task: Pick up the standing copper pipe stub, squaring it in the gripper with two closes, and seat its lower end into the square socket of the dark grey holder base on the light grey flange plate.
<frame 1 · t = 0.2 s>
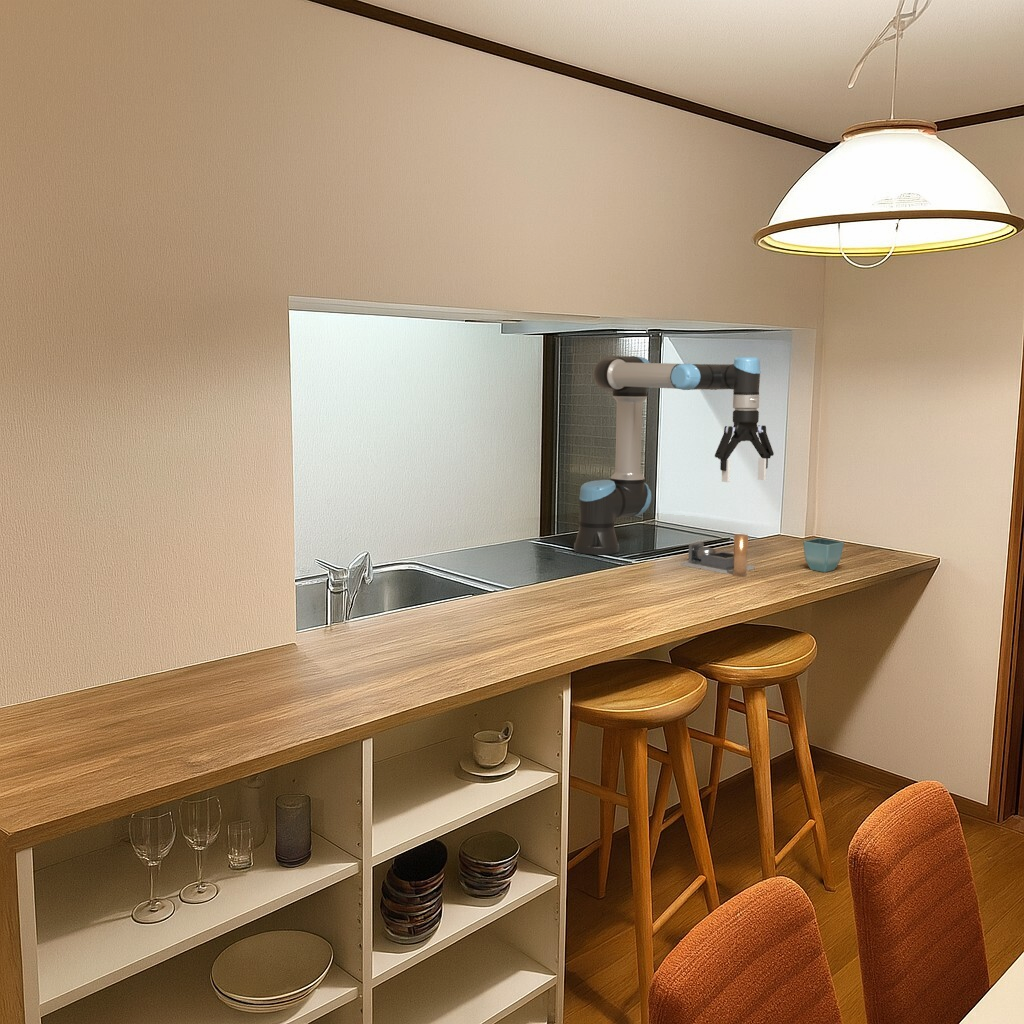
hand: (743, 480, 293), 27 cm above the counter, fingers open, 13 cm apart
dark grey holder base: (723, 567, 299), on the counter
pipe stub: (739, 575, 289), on the counter
flower pot: (822, 571, 297), on the counter
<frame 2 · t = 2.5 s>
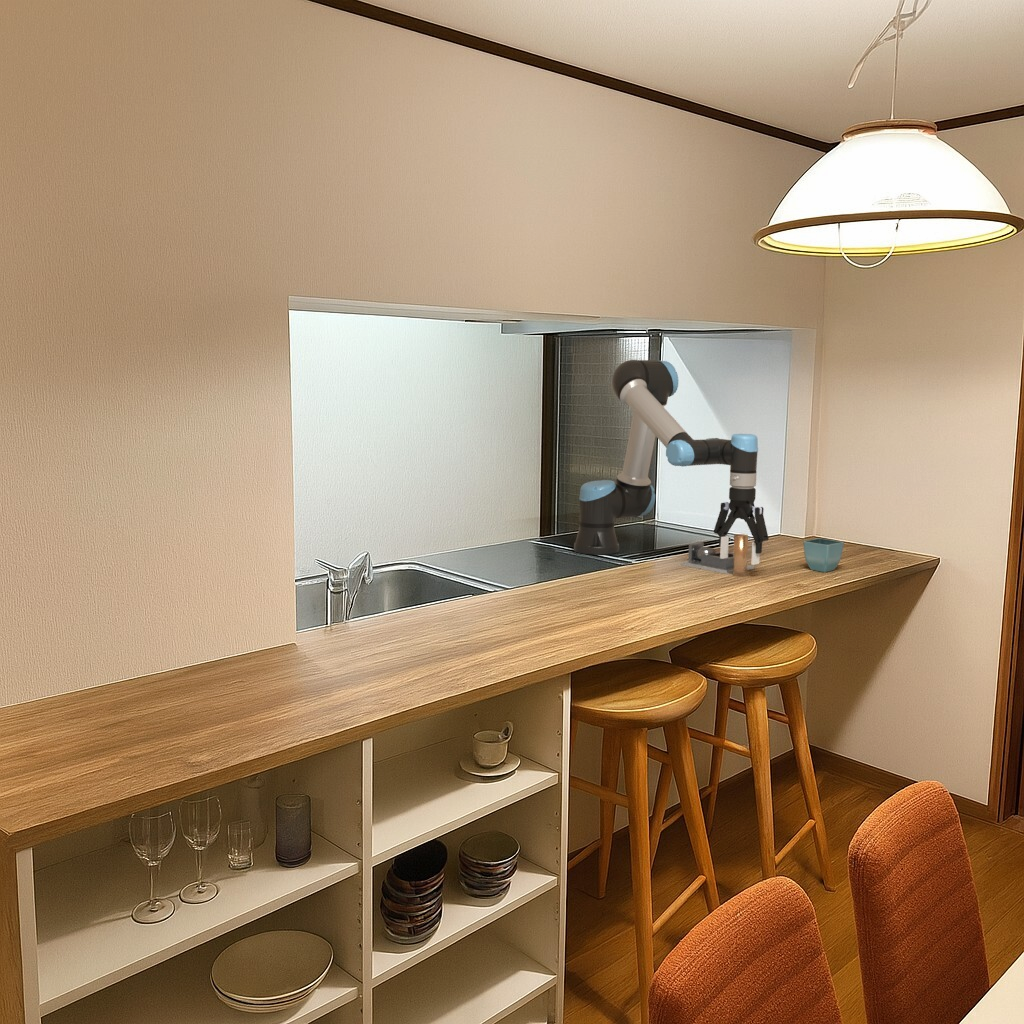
hand: (739, 561, 288), 4 cm above the counter, fingers open, 11 cm apart
nothing on the counter moved.
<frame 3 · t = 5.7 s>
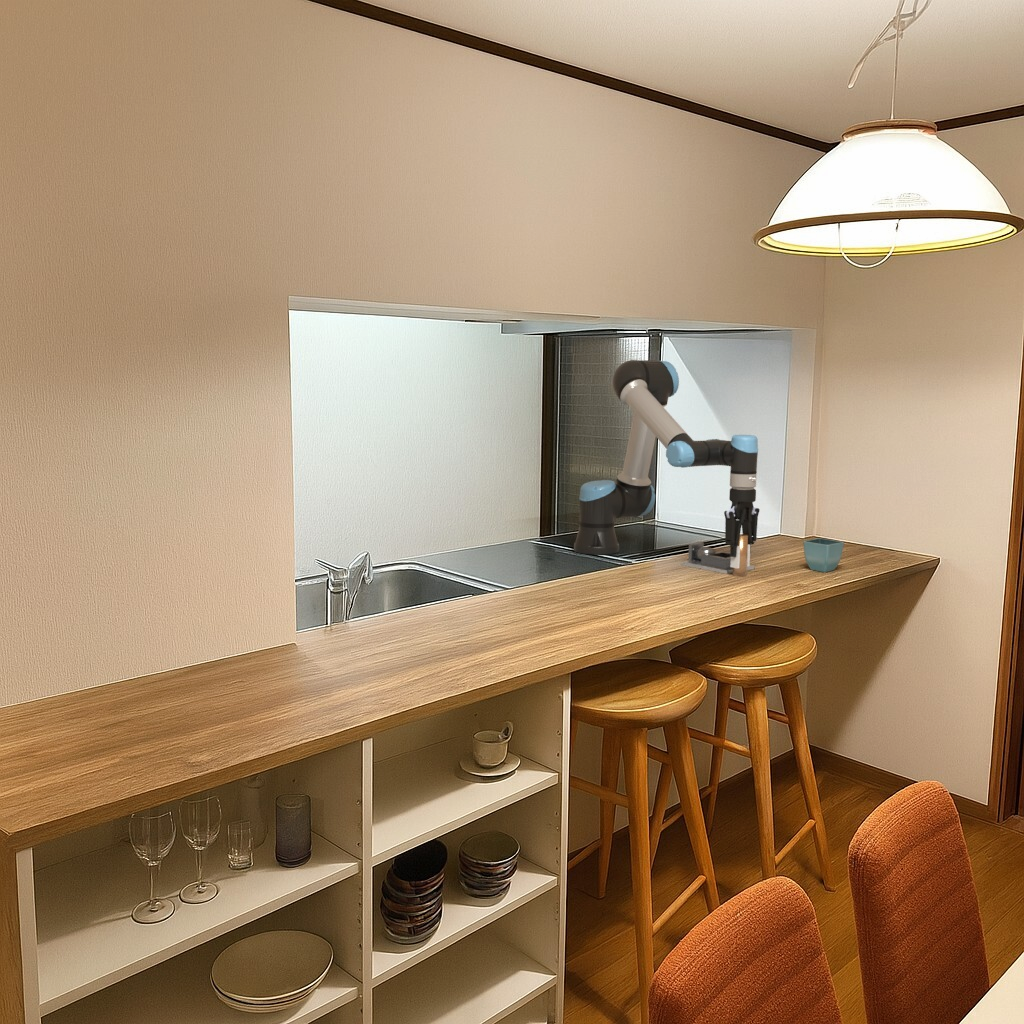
hand: (739, 566, 288), 3 cm above the counter, fingers closed on pipe stub, 4 cm apart
pipe stub: (739, 575, 289), on the counter, touching gripper
everything else where it was.
when the fingers open (5 cm above the counter, at t = 10.0 s): pipe stub drops 1 cm, resting on dark grey holder base.
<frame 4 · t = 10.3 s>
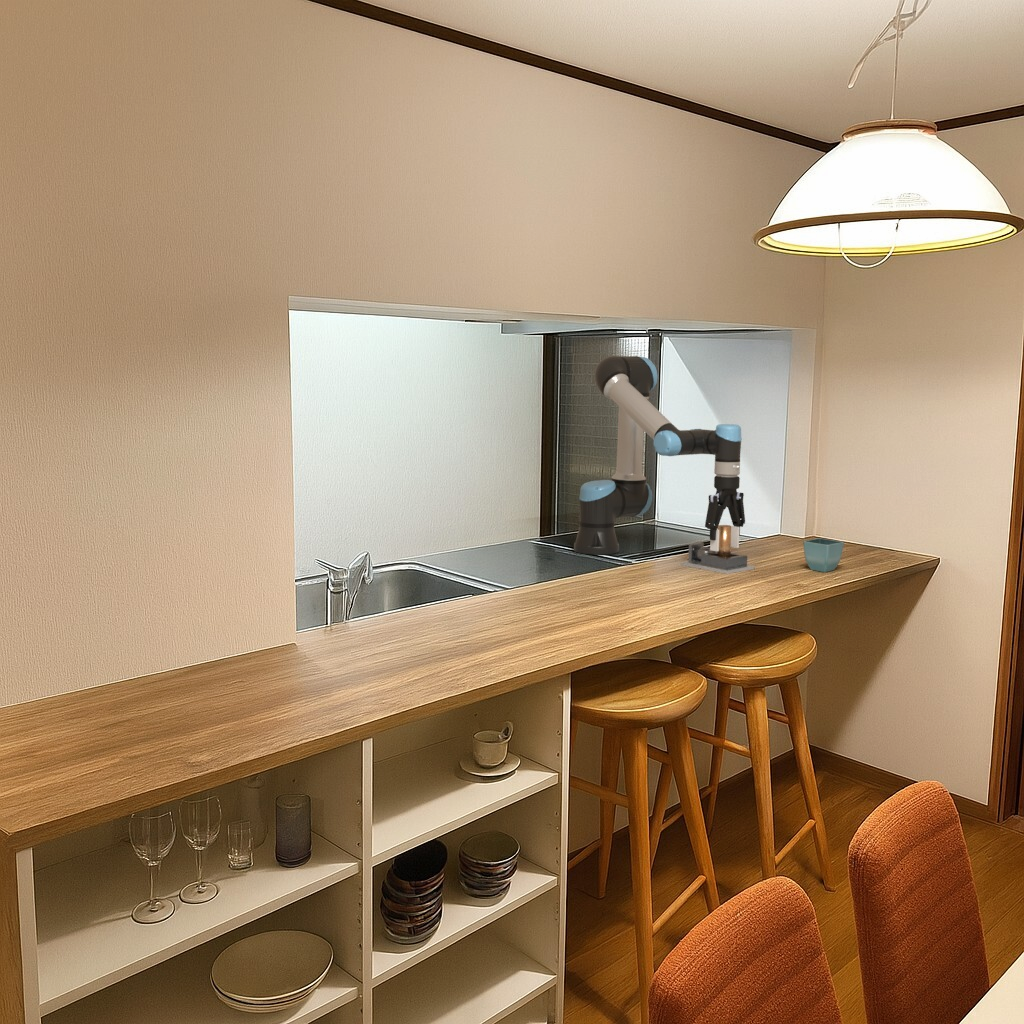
hand: (724, 548, 299), 6 cm above the counter, fingers open, 9 cm apart
pipe stub: (723, 564, 299), point 1 cm above the counter, touching dark grey holder base
everything else where it was.
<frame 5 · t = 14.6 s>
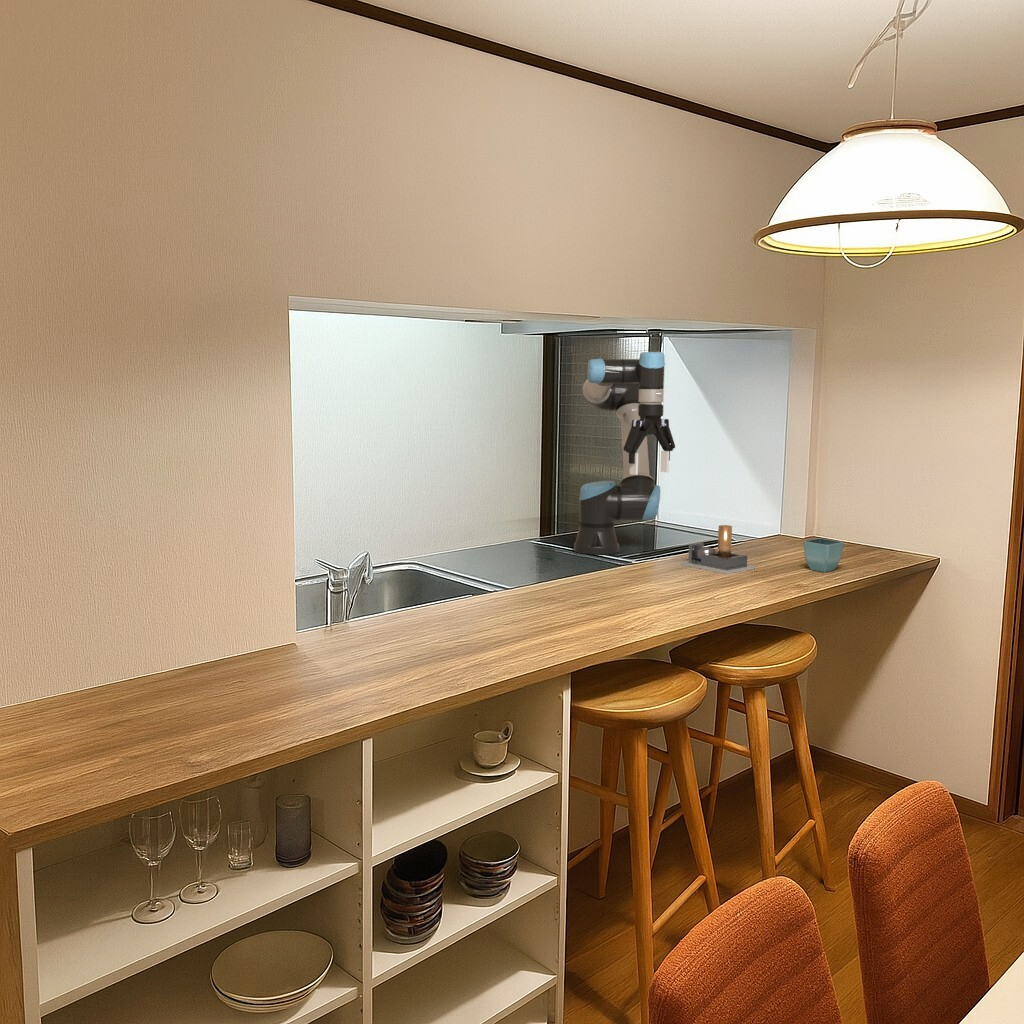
hand: (649, 473, 299), 29 cm above the counter, fingers open, 13 cm apart
nothing on the counter moved.
at the end: pipe stub 0.0 cm off-centre on the dark grey holder base, point 1.0 cm above the dark grey holder base's base; pipe stub tilted 0°; the gripper is holding nothing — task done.
